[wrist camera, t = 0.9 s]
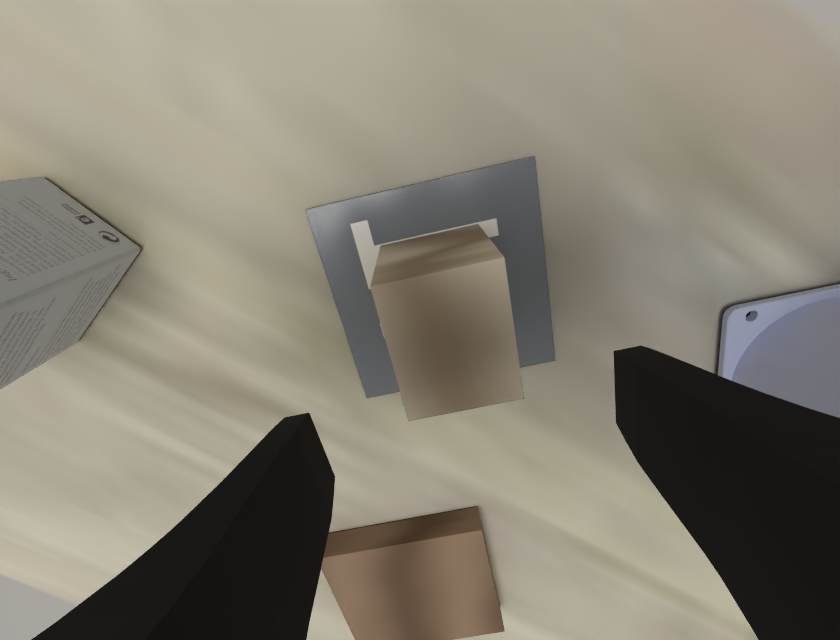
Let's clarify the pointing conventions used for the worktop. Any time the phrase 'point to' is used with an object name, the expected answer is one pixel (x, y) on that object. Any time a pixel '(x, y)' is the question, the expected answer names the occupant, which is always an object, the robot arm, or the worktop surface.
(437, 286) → the birch block
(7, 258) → the skincare box
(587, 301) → the worktop surface
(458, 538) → the walnut board
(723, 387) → the robot arm
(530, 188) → the slate tile
